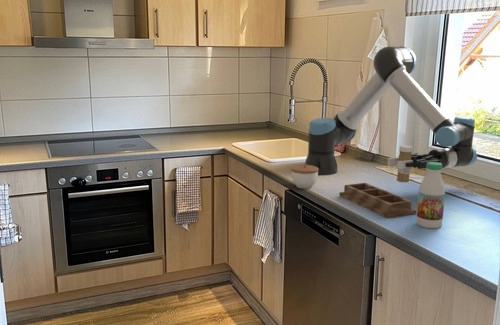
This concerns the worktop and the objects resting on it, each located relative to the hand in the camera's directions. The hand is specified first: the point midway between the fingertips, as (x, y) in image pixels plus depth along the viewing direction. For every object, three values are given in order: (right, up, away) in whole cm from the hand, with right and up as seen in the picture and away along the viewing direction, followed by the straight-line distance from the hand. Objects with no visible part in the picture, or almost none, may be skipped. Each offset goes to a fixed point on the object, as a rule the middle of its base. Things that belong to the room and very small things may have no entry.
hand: (393, 163), depth 182 cm
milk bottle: (+4, -19, -25) cm, 32 cm away
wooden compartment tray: (-7, -14, -4) cm, 17 cm away
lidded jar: (-31, -9, +18) cm, 37 cm away
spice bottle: (+5, -7, +4) cm, 9 cm away
